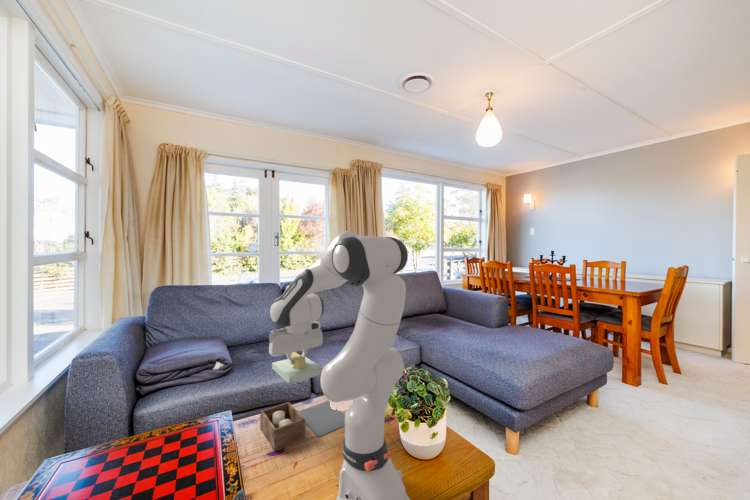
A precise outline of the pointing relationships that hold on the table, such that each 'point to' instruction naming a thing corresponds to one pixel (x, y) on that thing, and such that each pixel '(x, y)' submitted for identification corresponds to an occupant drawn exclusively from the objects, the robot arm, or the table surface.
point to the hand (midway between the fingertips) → (297, 362)
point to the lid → (296, 368)
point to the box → (282, 425)
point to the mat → (323, 418)
